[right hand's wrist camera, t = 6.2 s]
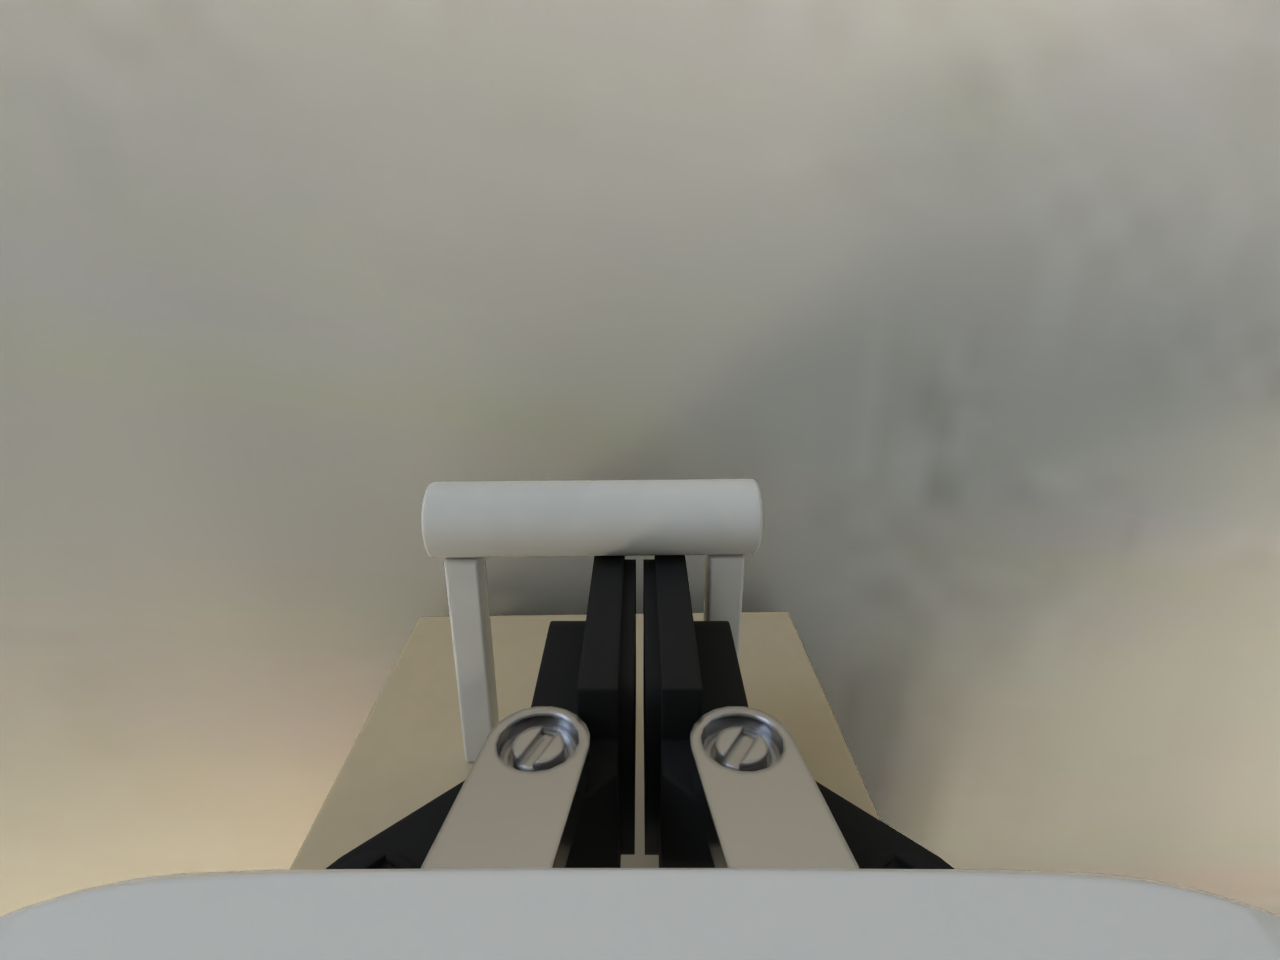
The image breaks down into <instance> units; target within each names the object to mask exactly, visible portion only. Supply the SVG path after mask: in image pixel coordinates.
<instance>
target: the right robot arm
mask: <svg viewBox="0 0 1280 960" xmlns="http://www.w3.org/2000/svg"><path fill="white" fill-rule="evenodd" d="M643 713H644V825H645V855H659V868H621V855H635V767H636V560H625V556H595V557H594V564H593V571H592V579H591V586H590V594H589V601H588V608H587V616H586V621H551V622H550V625H549V629H548V633H547V638H546V642H545V647H544V651H543V655H542V660H541V664H540V669H539V673H538V678H537V682H536V687H535V691H534V696H533V700H532V705H531V708H527V709H522V710H520V711H517V712H515V713H513V714H510V715H508V716H507V717H505V718H504V719H503V720H501V721H500V722H499V723H497V724H496V725H495V727H494V728H493V729H492V731H491V732H490V733H489V735H488V736H487V738H486V740H485V742H484V744H483V746H482V748H481V750H480V752H479V754H478V756H477V758H476V760H475V762H474V764H473V766H472V768H471V770H470V772H469V774H468V776H467V778H466V780H464V781H463V782H461V783H459V784H458V785H456V786H455V787H453V788H451V789H450V790H448V791H447V792H445V793H443V794H442V795H440V796H438V797H437V798H435V799H434V800H432V801H430V802H429V803H427V804H426V805H424V806H422V807H421V808H419V809H417V810H416V811H414V812H413V813H411V814H409V815H408V816H406V817H405V818H403V819H401V820H400V821H398V822H396V823H395V824H393V825H392V826H390V827H388V828H387V829H385V830H384V831H382V832H380V833H379V834H377V835H375V836H374V837H372V838H371V839H369V840H367V841H366V842H364V843H363V844H361V845H359V846H358V847H356V848H354V849H353V850H351V851H350V852H348V853H346V854H345V855H343V856H342V857H340V858H339V859H337V860H336V861H335V862H334V863H332V864H331V865H330V866H328V867H327V868H326V869H279V870H254V871H228V872H203V873H182V874H173V875H164V876H156V877H147V878H138V879H132V880H127V881H122V882H117V883H112V884H107V885H102V886H97V887H92V888H88V889H83V890H79V891H76V892H73V893H69V894H66V895H63V896H59V897H56V898H53V899H50V900H46V901H43V902H40V903H37V904H33V905H30V906H27V907H24V908H21V909H19V910H16V911H14V912H11V913H8V914H6V915H3V916H1V917H0V960H1280V917H1279V916H1277V915H1274V914H1272V913H1269V912H1266V911H1264V910H1261V909H1259V908H1256V907H1253V906H1250V905H1247V904H1243V903H1240V902H1237V901H1234V900H1230V899H1227V898H1224V897H1221V896H1217V895H1214V894H1211V893H1207V892H1204V891H1201V890H1197V889H1192V888H1188V887H1183V886H1178V885H1173V884H1168V883H1163V882H1158V881H1153V880H1148V879H1142V878H1133V877H1124V876H1116V875H1107V874H1098V873H1077V872H1051V871H1026V870H1001V869H999V870H991V869H954V868H953V867H951V866H950V865H949V864H947V863H946V862H945V861H943V860H942V859H941V858H940V857H938V856H936V855H935V854H933V853H932V852H930V851H928V850H927V849H925V848H923V847H922V846H920V845H919V844H917V843H915V842H914V841H912V840H911V839H909V838H907V837H906V836H904V835H902V834H901V833H899V832H898V831H896V830H894V829H893V828H891V827H889V826H888V825H886V824H885V823H883V822H881V821H880V820H878V819H877V818H875V817H873V816H872V815H870V814H868V813H867V812H865V811H864V810H862V809H860V808H859V807H857V806H856V805H854V804H852V803H851V802H849V801H847V800H846V799H844V798H843V797H841V796H839V795H838V794H836V793H835V792H833V791H831V790H830V789H828V788H826V787H825V786H823V785H822V784H820V783H818V782H817V781H815V780H814V778H813V776H812V774H811V772H810V770H809V768H808V766H807V764H806V762H805V760H804V758H803V756H802V754H801V752H800V750H799V748H798V746H797V744H796V742H795V740H794V738H793V736H792V735H791V733H790V732H789V731H788V729H787V728H786V727H785V725H784V724H783V723H781V722H780V721H779V720H777V719H776V718H775V717H773V716H772V715H769V714H767V713H765V712H763V711H760V710H758V709H753V708H749V707H748V703H747V698H746V694H745V689H744V685H743V680H742V676H741V671H740V667H739V662H738V658H737V653H736V649H735V645H734V640H733V636H732V631H731V627H730V624H729V622H728V621H694V620H693V613H692V605H691V598H690V591H689V583H688V576H687V568H686V561H685V555H655V560H644V602H643Z"/></svg>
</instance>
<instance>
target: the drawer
mask: <svg viewBox="0 0 1280 960" xmlns="http://www.w3.org/2000/svg"><path fill="white" fill-rule="evenodd" d="M421 528H422V537H423V542H424V546H425V549H426V551H427V553H428V555H429V556H431V557H434V558H446V560H445V562H444V569H445V578H446V588H447V597H448V606H449V615H450V616H446V617H420V618H419V619H418V621H417V623H416V625H415V627H414V629H413V631H412V633H411V635H410V637H409V639H408V641H407V643H406V644H405V646H404V648H403V650H402V652H401V654H400V656H399V658H398V660H397V662H396V664H395V666H394V668H393V670H392V672H391V674H390V676H389V677H388V679H387V681H386V683H385V685H384V687H383V689H382V691H381V693H380V695H379V697H378V699H377V701H376V703H375V705H374V707H373V709H372V710H371V712H370V714H369V716H368V718H367V720H366V722H365V724H364V726H363V728H362V730H361V732H360V734H359V736H358V738H357V740H356V742H355V744H354V745H353V747H352V749H351V751H350V753H349V755H348V757H347V759H346V761H345V763H344V765H343V767H342V769H341V771H340V773H339V775H338V777H337V778H336V780H335V782H334V784H333V786H332V788H331V790H330V792H329V794H328V796H327V798H326V800H325V802H324V804H323V806H322V808H321V810H320V811H319V813H318V815H317V817H316V819H315V821H314V823H313V825H312V827H311V829H310V831H309V833H308V835H307V837H306V839H305V841H304V843H303V844H302V846H301V848H300V850H299V852H298V854H297V856H296V858H295V860H294V862H293V864H292V866H291V868H290V869H326V868H327V867H328V866H330V865H331V864H332V863H334V862H335V861H336V860H337V859H339V858H340V857H342V856H343V855H345V854H346V853H348V852H350V851H351V850H353V849H354V848H356V847H358V846H359V845H361V844H363V843H364V842H366V841H367V840H369V839H371V838H372V837H374V836H375V835H377V834H379V833H380V832H382V831H384V830H385V829H387V828H388V827H390V826H392V825H393V824H395V823H396V822H398V821H400V820H401V819H403V818H405V817H406V816H408V815H409V814H411V813H413V812H414V811H416V810H417V809H419V808H421V807H422V806H424V805H426V804H427V803H429V802H430V801H432V800H434V799H435V798H437V797H438V796H440V795H442V794H443V793H445V792H447V791H448V790H450V789H451V788H453V787H455V786H456V785H458V784H459V783H461V782H463V781H464V780H466V778H467V776H468V774H469V772H470V770H471V768H472V766H473V764H474V762H475V760H476V758H477V756H478V754H479V752H480V750H481V748H482V746H483V744H484V742H485V740H486V738H487V736H488V735H489V733H490V732H491V731H492V729H493V728H494V727H495V725H496V724H497V723H499V722H500V721H501V720H503V719H504V718H505V717H507V716H508V715H510V714H513V713H515V712H517V711H520V710H522V709H527V708H531V705H532V700H533V696H534V691H535V687H536V682H537V678H538V673H539V669H540V664H541V660H542V655H543V651H544V647H545V642H546V638H547V633H548V629H549V625H550V622H551V621H586V616H587V615H517V616H490V609H489V597H488V586H487V574H486V563H485V557H549V556H634V555H706V565H705V592H704V613H693V620H694V621H728V622H729V624H730V627H731V631H732V636H733V640H734V645H735V649H736V653H737V658H738V662H739V667H740V671H741V676H742V680H743V685H744V689H745V694H746V698H747V703H748V707H749V708H753V709H758V710H760V711H763V712H765V713H767V714H769V715H772V716H773V717H775V718H776V719H777V720H779V721H780V722H781V723H783V724H784V725H785V727H786V728H787V729H788V731H789V732H790V733H791V735H792V736H793V738H794V740H795V742H796V744H797V746H798V748H799V750H800V752H801V754H802V756H803V758H804V760H805V762H806V764H807V766H808V768H809V770H810V772H811V774H812V776H813V778H814V780H815V781H817V782H818V783H820V784H822V785H823V786H825V787H826V788H828V789H830V790H831V791H833V792H835V793H836V794H838V795H839V796H841V797H843V798H844V799H846V800H847V801H849V802H851V803H852V804H854V805H856V806H857V807H859V808H860V809H862V810H864V811H865V812H867V813H868V814H870V815H872V816H873V817H875V818H877V819H878V820H880V819H879V817H878V815H877V813H876V810H875V808H874V806H873V803H872V801H871V799H870V797H869V794H868V792H867V790H866V787H865V785H864V783H863V781H862V778H861V776H860V774H859V772H858V769H857V767H856V765H855V762H854V760H853V758H852V756H851V753H850V751H849V749H848V747H847V744H846V742H845V740H844V737H843V735H842V733H841V731H840V728H839V726H838V724H837V721H836V719H835V717H834V715H833V712H832V710H831V708H830V706H829V703H828V701H827V699H826V696H825V694H824V692H823V690H822V687H821V685H820V683H819V681H818V678H817V676H816V674H815V671H814V669H813V667H812V665H811V662H810V660H809V658H808V655H807V653H806V651H805V649H804V646H803V644H802V642H801V640H800V637H799V635H798V633H797V630H796V628H795V626H794V624H793V621H792V619H791V617H790V615H789V612H742V595H743V579H744V562H745V559H744V557H743V554H754V553H756V552H757V551H758V549H759V547H760V543H761V539H762V529H763V510H762V499H761V494H760V490H759V487H758V484H757V482H756V481H755V480H753V479H683V480H571V481H458V482H433V483H431V484H429V486H428V487H427V489H426V492H425V495H424V499H423V504H422V513H421ZM621 868H659V855H645V825H644V713H643V614H636V767H635V855H621Z"/></svg>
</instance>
